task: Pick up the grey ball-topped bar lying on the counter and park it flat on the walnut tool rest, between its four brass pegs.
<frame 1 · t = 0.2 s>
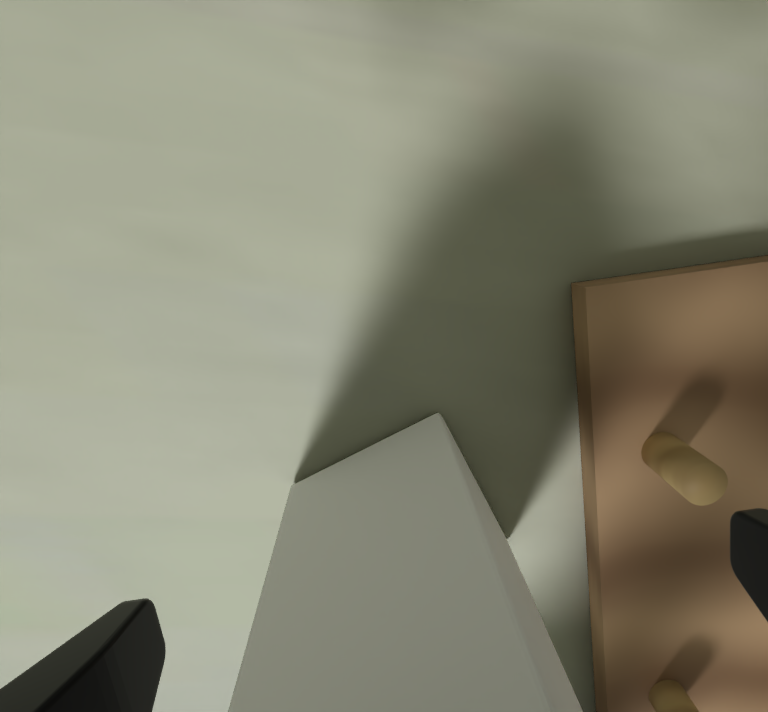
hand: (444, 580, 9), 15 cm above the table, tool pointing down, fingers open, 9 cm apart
milk carton: (401, 510, 25), on the table
tool rest: (718, 548, 25), on the table
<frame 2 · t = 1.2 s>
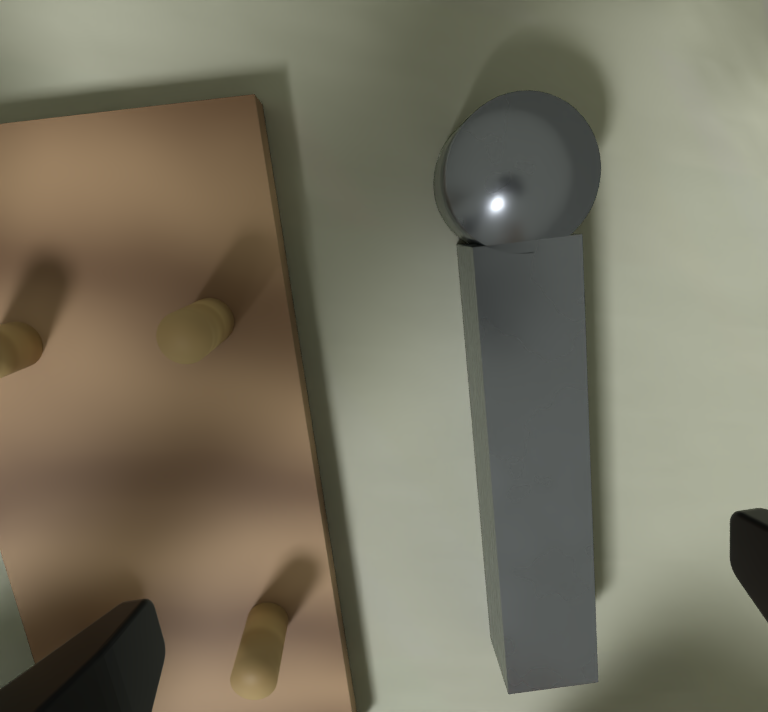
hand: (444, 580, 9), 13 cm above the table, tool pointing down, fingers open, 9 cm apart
grey ball-topped bar: (518, 453, 22), on the table
tool rest: (165, 474, 22), on the table
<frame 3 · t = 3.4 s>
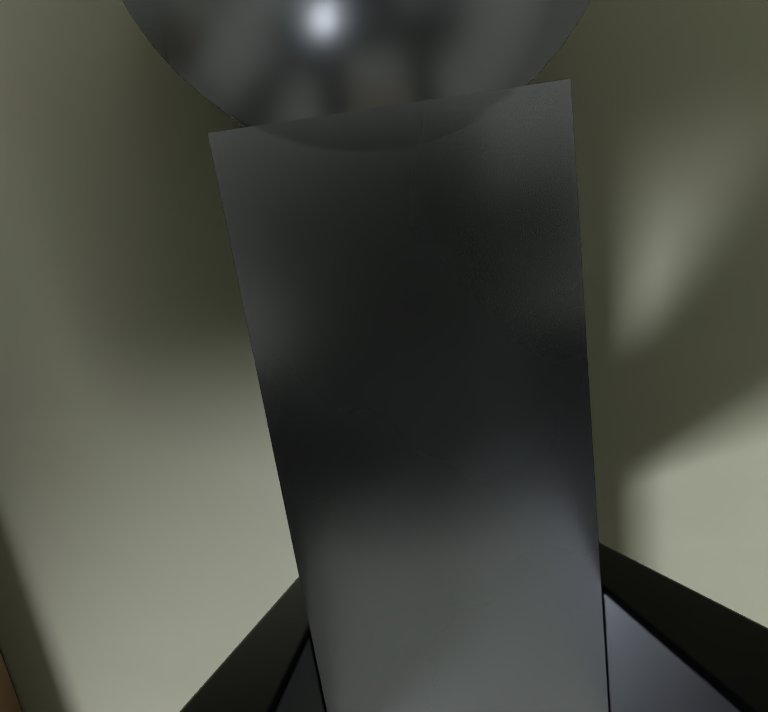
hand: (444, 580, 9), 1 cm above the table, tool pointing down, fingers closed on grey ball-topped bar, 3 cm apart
grey ball-topped bar: (447, 632, 10), on the table, touching gripper
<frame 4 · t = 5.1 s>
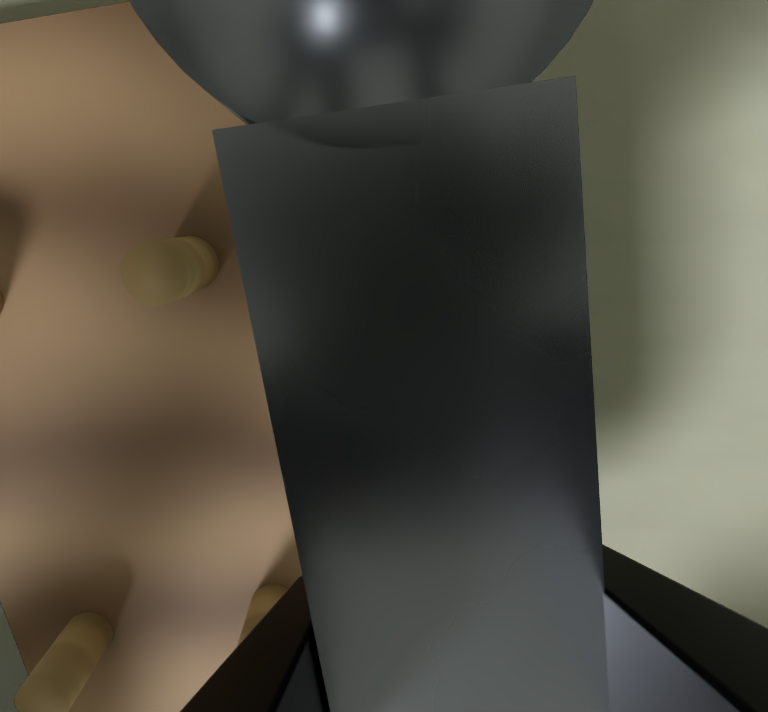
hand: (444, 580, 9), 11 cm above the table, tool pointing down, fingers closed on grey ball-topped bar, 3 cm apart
grey ball-topped bar: (449, 631, 10), point 10 cm above the table, touching gripper
tool rest: (154, 444, 20), on the table
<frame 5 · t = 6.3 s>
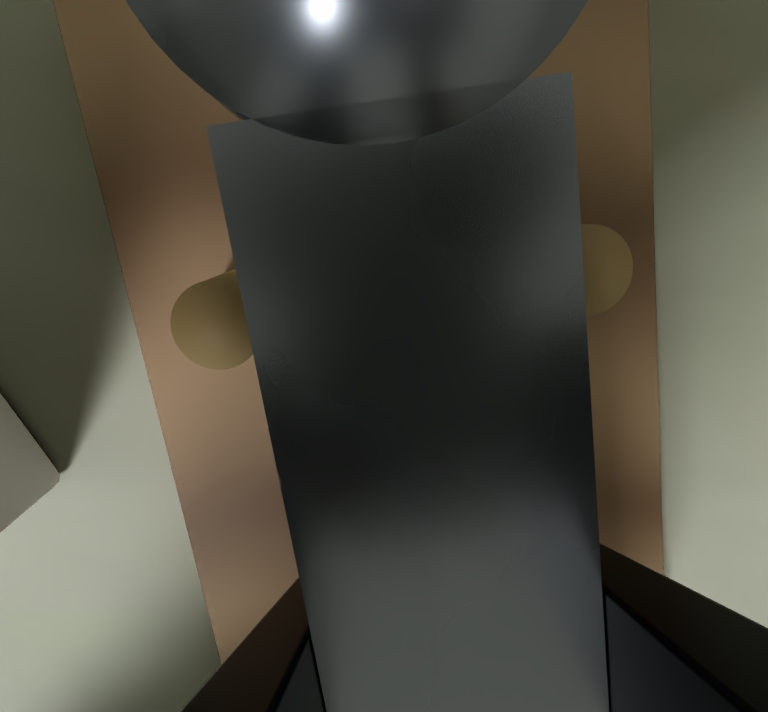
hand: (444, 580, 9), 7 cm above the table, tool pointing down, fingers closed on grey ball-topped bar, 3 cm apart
grey ball-topped bar: (447, 631, 10), point 6 cm above the table, touching gripper
tool rest: (420, 488, 16), on the table
when the fingers open (4 cm above the table, at t = 7.0 s): grey ball-topped bar drops 1 cm, resting on tool rest.
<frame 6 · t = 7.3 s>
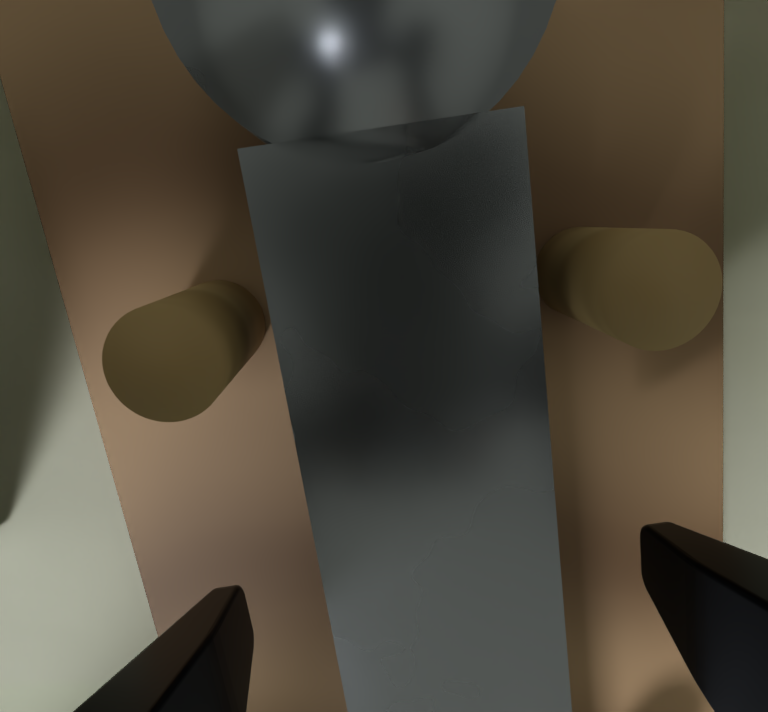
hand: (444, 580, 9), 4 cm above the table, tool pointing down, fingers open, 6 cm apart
grey ball-topped bar: (435, 581, 12), point 1 cm above the table, touching tool rest
tool rest: (430, 541, 13), on the table
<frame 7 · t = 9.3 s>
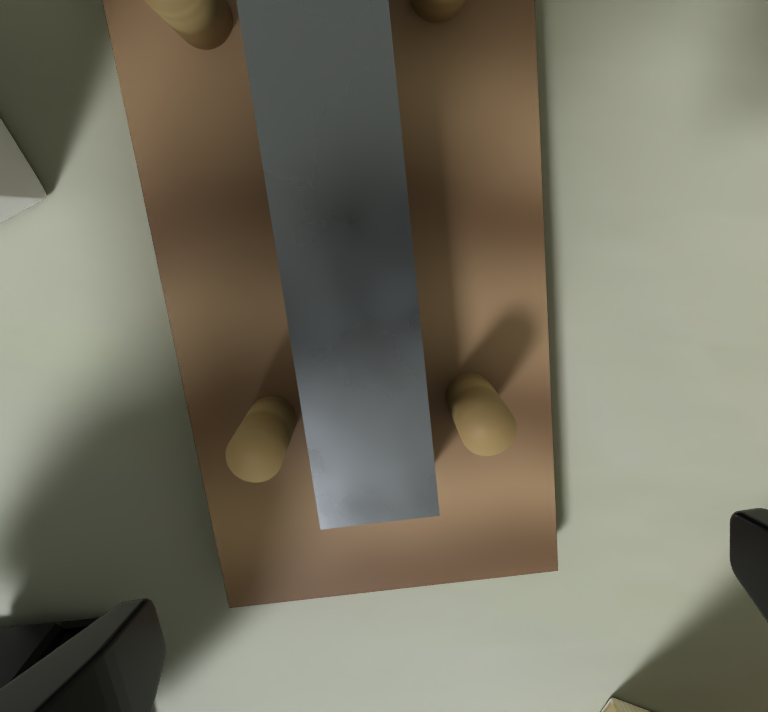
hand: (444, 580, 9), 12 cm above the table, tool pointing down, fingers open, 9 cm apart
grey ball-topped bar: (346, 223, 17), point 1 cm above the table, touching tool rest
tool rest: (349, 222, 19), on the table
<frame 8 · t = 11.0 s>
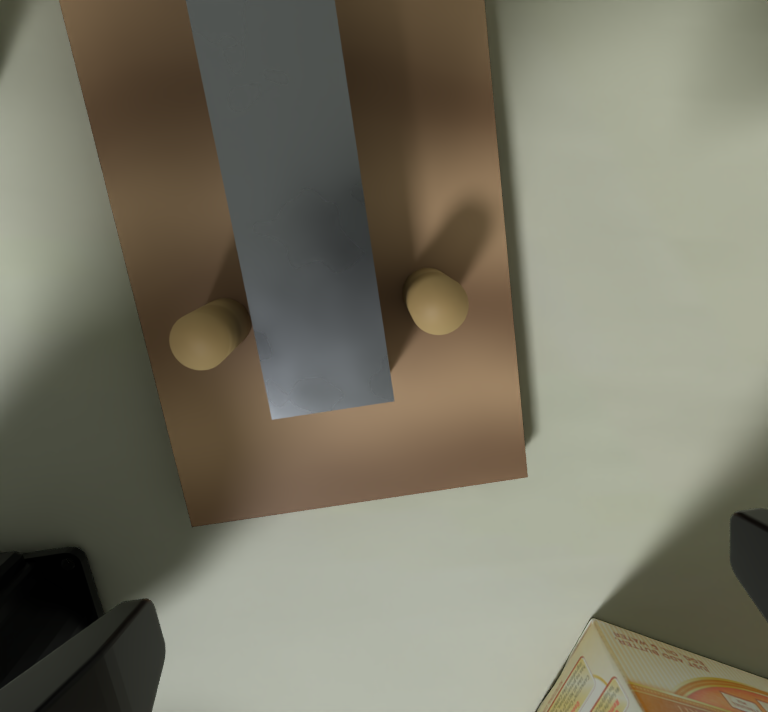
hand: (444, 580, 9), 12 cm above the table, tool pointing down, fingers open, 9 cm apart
grey ball-topped bar: (291, 110, 17), point 1 cm above the table, touching tool rest
tool rest: (298, 119, 18), on the table
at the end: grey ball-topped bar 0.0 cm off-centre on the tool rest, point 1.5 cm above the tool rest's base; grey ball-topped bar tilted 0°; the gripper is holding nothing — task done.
